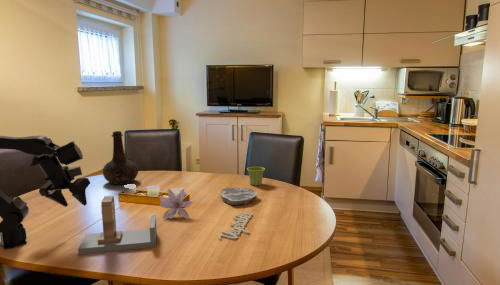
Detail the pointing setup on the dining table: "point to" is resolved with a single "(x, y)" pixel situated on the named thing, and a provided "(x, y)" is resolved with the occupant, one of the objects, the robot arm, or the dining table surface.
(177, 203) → the water lily
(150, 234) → the grey l-shaped bracket
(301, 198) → the dining table surface
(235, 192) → the brain slice
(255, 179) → the plant pot
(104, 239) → the brown upright panelled block
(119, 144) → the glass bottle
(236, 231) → the decorative sign
